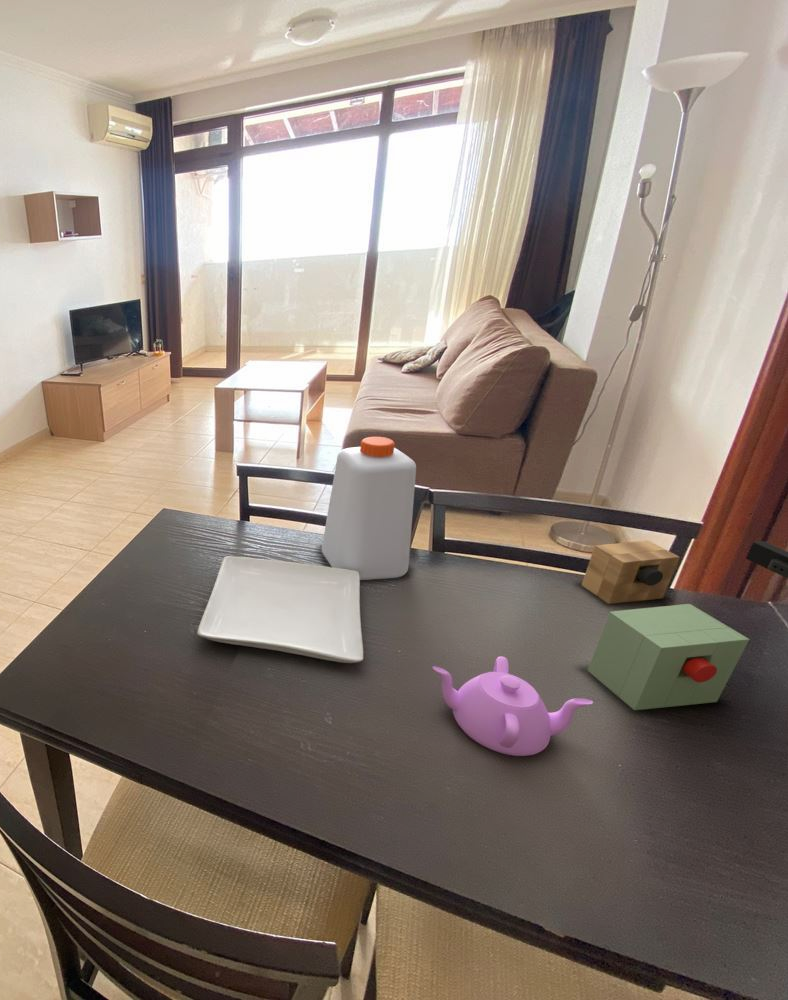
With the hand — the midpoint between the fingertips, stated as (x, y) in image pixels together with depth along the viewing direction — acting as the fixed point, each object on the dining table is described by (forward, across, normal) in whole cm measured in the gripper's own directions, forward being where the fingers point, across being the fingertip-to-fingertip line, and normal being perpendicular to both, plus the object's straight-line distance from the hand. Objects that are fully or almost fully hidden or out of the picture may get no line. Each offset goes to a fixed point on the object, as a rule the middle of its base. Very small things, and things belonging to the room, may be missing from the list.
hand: (754, 550), depth 76 cm
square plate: (+20, -60, -20) cm, 67 cm away
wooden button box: (+17, +2, -20) cm, 26 cm away
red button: (-10, -13, -13) cm, 21 cm away
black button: (+13, +2, -15) cm, 20 cm away
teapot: (-9, -39, -20) cm, 45 cm away
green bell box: (-5, -13, -20) cm, 24 cm away
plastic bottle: (+35, -38, -20) cm, 56 cm away
